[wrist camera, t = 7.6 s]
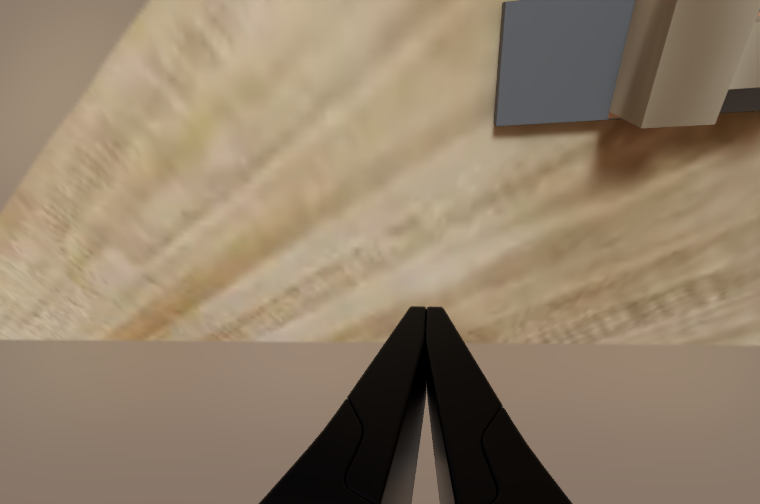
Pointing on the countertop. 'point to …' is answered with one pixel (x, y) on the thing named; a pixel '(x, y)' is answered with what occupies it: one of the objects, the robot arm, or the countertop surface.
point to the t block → (686, 60)
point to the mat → (569, 62)
